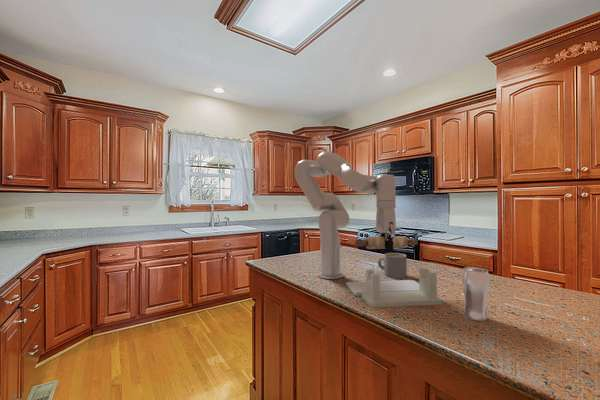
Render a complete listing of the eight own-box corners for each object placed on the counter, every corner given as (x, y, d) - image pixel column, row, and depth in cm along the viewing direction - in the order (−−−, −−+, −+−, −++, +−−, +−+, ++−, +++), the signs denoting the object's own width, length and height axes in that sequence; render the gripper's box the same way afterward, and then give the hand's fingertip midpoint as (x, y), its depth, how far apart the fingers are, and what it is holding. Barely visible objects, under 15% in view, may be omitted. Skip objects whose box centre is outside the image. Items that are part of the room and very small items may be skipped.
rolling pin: (356, 251, 111) (357, 241, 109) (353, 245, 116) (354, 235, 114) (418, 249, 114) (420, 239, 112) (412, 243, 118) (414, 233, 116)
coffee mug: (410, 275, 132) (410, 254, 132) (400, 280, 126) (399, 258, 126) (385, 270, 142) (385, 250, 142) (374, 274, 136) (374, 253, 136)
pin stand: (361, 296, 105) (361, 268, 105) (426, 294, 107) (426, 266, 107) (370, 307, 95) (370, 276, 95) (442, 304, 97) (442, 273, 97)
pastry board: (346, 284, 119) (346, 282, 119) (412, 282, 122) (412, 279, 122) (355, 295, 106) (355, 292, 106) (429, 292, 109) (429, 289, 109)
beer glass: (493, 323, 83) (493, 273, 82) (467, 321, 84) (467, 272, 84) (482, 313, 90) (483, 267, 89) (459, 311, 91) (459, 266, 91)
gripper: (369, 204, 122) (370, 245, 122) (385, 205, 105) (385, 253, 105) (386, 204, 122) (386, 245, 123) (404, 205, 106) (404, 252, 106)
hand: (386, 248), depth 114 cm, fingers closed on rolling pin, 4 cm apart
